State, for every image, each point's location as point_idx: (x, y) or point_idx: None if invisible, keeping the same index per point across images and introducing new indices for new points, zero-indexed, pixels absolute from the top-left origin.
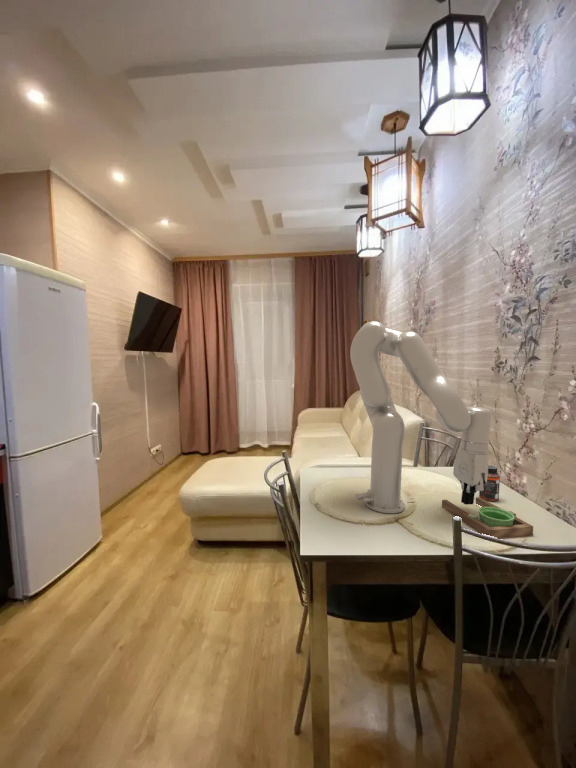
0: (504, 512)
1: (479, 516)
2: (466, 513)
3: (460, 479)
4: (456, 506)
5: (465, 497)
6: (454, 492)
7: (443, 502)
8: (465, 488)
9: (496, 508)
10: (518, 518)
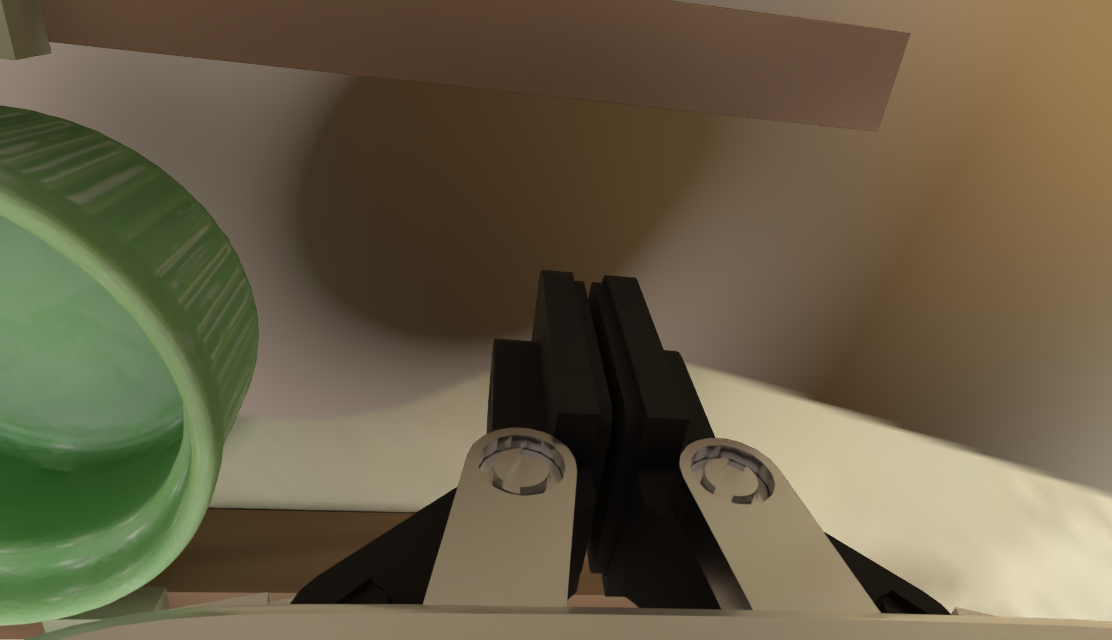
0: (51, 580)
1: (43, 166)
2: (210, 21)
3: (856, 627)
4: (551, 78)
5: (550, 341)
6: (1044, 530)
7: (845, 26)
8: (667, 512)
9: (146, 560)
10: (24, 636)
